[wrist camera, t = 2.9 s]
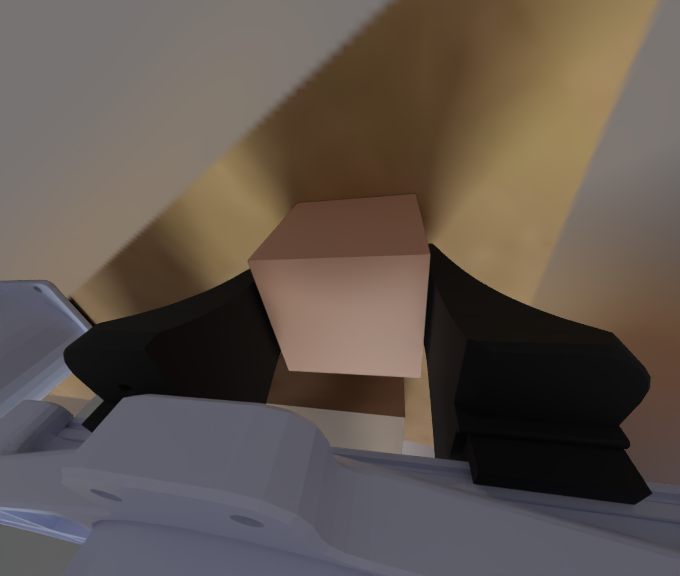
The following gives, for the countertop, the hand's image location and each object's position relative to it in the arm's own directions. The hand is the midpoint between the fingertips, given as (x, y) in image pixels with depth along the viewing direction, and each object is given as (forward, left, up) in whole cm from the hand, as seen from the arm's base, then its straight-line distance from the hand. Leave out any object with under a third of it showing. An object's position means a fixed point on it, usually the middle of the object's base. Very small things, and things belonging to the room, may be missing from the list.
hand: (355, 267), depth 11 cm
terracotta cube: (0, 0, -1) cm, 1 cm away
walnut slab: (-2, -11, -2) cm, 11 cm away
